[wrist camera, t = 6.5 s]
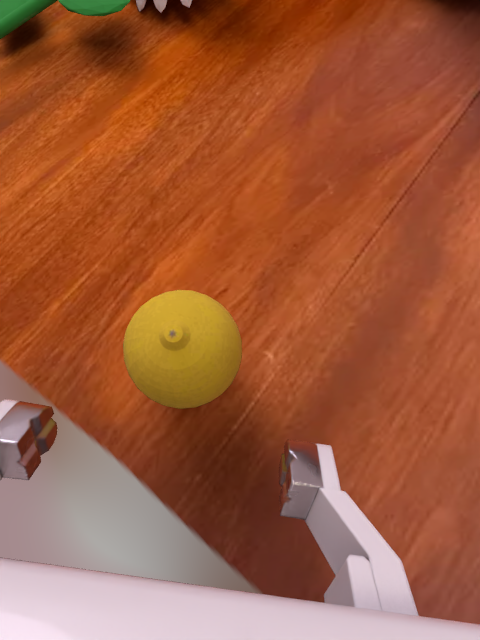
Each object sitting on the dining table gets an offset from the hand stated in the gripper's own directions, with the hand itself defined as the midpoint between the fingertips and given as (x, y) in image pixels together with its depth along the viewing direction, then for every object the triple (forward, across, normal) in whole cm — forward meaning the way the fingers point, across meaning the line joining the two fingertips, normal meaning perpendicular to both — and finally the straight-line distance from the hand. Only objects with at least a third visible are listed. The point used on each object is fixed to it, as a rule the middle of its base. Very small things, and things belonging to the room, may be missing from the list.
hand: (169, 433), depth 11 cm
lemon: (+8, +1, +3) cm, 9 cm away
